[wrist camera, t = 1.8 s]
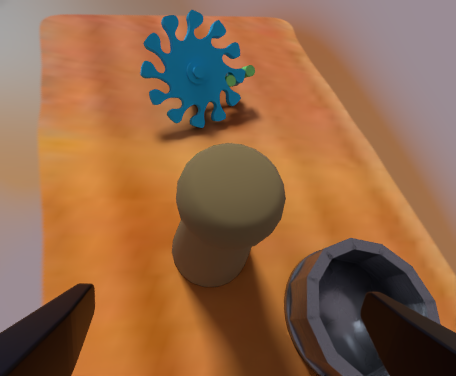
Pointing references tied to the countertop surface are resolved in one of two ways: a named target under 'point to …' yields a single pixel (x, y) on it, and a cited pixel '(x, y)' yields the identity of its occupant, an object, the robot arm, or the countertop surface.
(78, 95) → the countertop surface
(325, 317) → the fitting collar
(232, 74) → the gear
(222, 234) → the cork
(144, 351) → the countertop surface
